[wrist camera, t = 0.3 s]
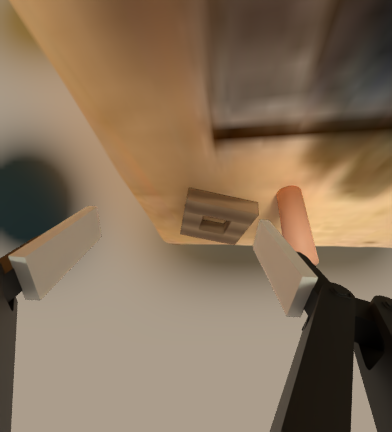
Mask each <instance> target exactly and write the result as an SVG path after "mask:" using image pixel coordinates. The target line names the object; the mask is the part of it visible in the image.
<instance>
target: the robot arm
mask: <svg viewBox="0 0 392 432" xmlns="http://www.w3.org/2000/svg"><path fill="white" fill-rule="evenodd" d="M101 237H102V236H101V228H100V222H99V215H98V208H97V207H93V206H87V207H85V208H84V209H82V210H81V211H79V212H77V213H76V214H74V215H73V216H71V217H69V218H68V219H66V220H65V221H63V222H61V223H60V224H58V225H57V226H55V227H53V228H52V229H50V230H49V231H47V232H46V233H44V234H42V235H39V236H37V237H34V238H32V239H31V240H29V241H28V242H26V243H24V244H23V245H21V246H20V247H18V248H16V249H14V250H13V251H11V252H10V253H8V254H6V255H5V256H3V257H1V258H0V432H11V418H12V417H11V416H12V398H13V379H14V360H15V341H16V322H17V303H18V302H17V299H16V296H17V295H18V294H19V293H20V292H21V291H22V292H23V294H24V297H25V299H27V300H41V299H42V298H43V297H44V296H45V295H46V294H47V293H48V292H49V291H50V290H51V289H52V288H53V287H54V286H55V285H56V283H58V282H59V281H60V279H61V278H62V277H63V276H64V275H65V274H66V273H67V272H68V271H69V270H70V269H71V268H72V267H73V266H74V265H75V264H76V263H77V262H78V260H80V259H81V258H82V257H83V256H84V255H85V254H86V252H87V251H88V250H89V249H90V248H91V247H92V246H93V245H94V244H95V243H96V242H97V241H98V240H99V239H100V238H101ZM253 250H254V252H255V253H256V256H257V258H258V260H259V262H260V264H261V266H262V268H263V270H264V272H265V274H266V276H267V278H268V280H269V282H270V284H271V286H272V288H273V290H274V292H275V294H276V296H277V298H278V300H279V302H280V304H281V306H282V308H283V310H284V312H285V314H286V316H288V317H301V315H302V313H303V310H305V311H306V313H307V315H308V318H307V320H306V322H305V324H304V326H303V328H302V331H303V332H302V335H301V338H300V341H299V344H298V347H297V350H296V353H295V356H294V359H293V362H292V365H291V368H290V371H289V374H288V377H287V381H286V384H285V387H284V390H283V393H282V396H281V399H280V402H279V405H278V408H277V411H276V414H275V417H274V420H273V423H272V426H271V430H270V432H350V431H351V407H352V406H351V405H352V381H353V354H354V352H355V356H356V359H357V362H358V366H359V369H360V373H361V376H362V380H363V383H364V387H365V390H366V394H367V397H368V401H369V404H370V408H371V411H372V415H373V418H374V422H375V425H376V428H377V432H392V299H390V298H388V297H384V296H375V297H374V298H373V299H372V301H371V302H368V301H365V300H361V299H358V298H355V296H354V295H353V294H352V293H351V292H350V291H349V290H347V289H346V288H344V287H343V286H341V285H338V284H336V283H331V282H329V281H328V279H327V278H326V277H325V276H324V275H323V274H322V273H321V272H320V270H318V269H317V268H316V266H315V265H314V264H313V263H312V262H311V261H310V259H309V258H308V257H307V256H305V255H304V254H302V253H301V252H296V251H295V250H294V249H293V248H292V247H291V245H290V244H289V243H288V242H287V241H286V240H285V238H284V237H283V236H282V235H281V234H280V233H279V231H278V230H277V229H276V228H275V227H274V226H273V224H272V223H271V222H270V221H269V220H262V219H259V224H258V228H257V232H256V236H255V240H254V244H253Z"/></svg>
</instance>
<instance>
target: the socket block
mask: <svg viewBox="0 0 392 432" xmlns="http://www.w3.org/2000/svg"><path fill="white" fill-rule="evenodd" d="M258 215H259V211H258V202H253V201H248V200H244V199H239V198H234V197H230V196H225V195H220V194H216V193H211V192H206V191H202V190H197V189H193V188H189V190H188V194H187V199H186V204H185V210H184V215H183V221H182V226H181V232H180V234H182V235H187V236H192V237H197V238H202V239H207V240H212V241H217V242H222V243H227V244H232V245H235V244H236V242H237V241H238V240H239V239H240V237H241V236H242V235H243V234H244V233H245V231H246V230H247V229H248V228H249V226H250V225H251V224H252V223H253V221H254V220H255V219H256V218H257V216H258ZM203 216H208V217H212V218H217V219H222V220H226V222H225V223H224V224H222V223H217V222H212V221H207V220H203V219H202V218H203Z"/></svg>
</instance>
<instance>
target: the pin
mask: <svg viewBox="0 0 392 432" xmlns="http://www.w3.org/2000/svg"><path fill="white" fill-rule="evenodd" d="M277 201H278V207H279V214H280V221H281V228H282V235H283V237H284V238H285V240H286V241H287V242H288V243H289V244H290V245H291V247H292V248H293V249H294V250H295V251H296V252H301V253H302V254H304V255H305V256H307V257H308V258H309V259H310V261H311V262H312V263H313V264H314V265H316V264H318V263H319V260H318V256H317V252H316V248H315V244H314V240H313V236H312V232H311V228H310V224H309V220H308V216H307V212H306V208H305V204H304V200H303V196H302V192H301V189H300V188H298V187H296V186H287V187H284V188H282V189H280V190H279V191H278V193H277Z"/></svg>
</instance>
